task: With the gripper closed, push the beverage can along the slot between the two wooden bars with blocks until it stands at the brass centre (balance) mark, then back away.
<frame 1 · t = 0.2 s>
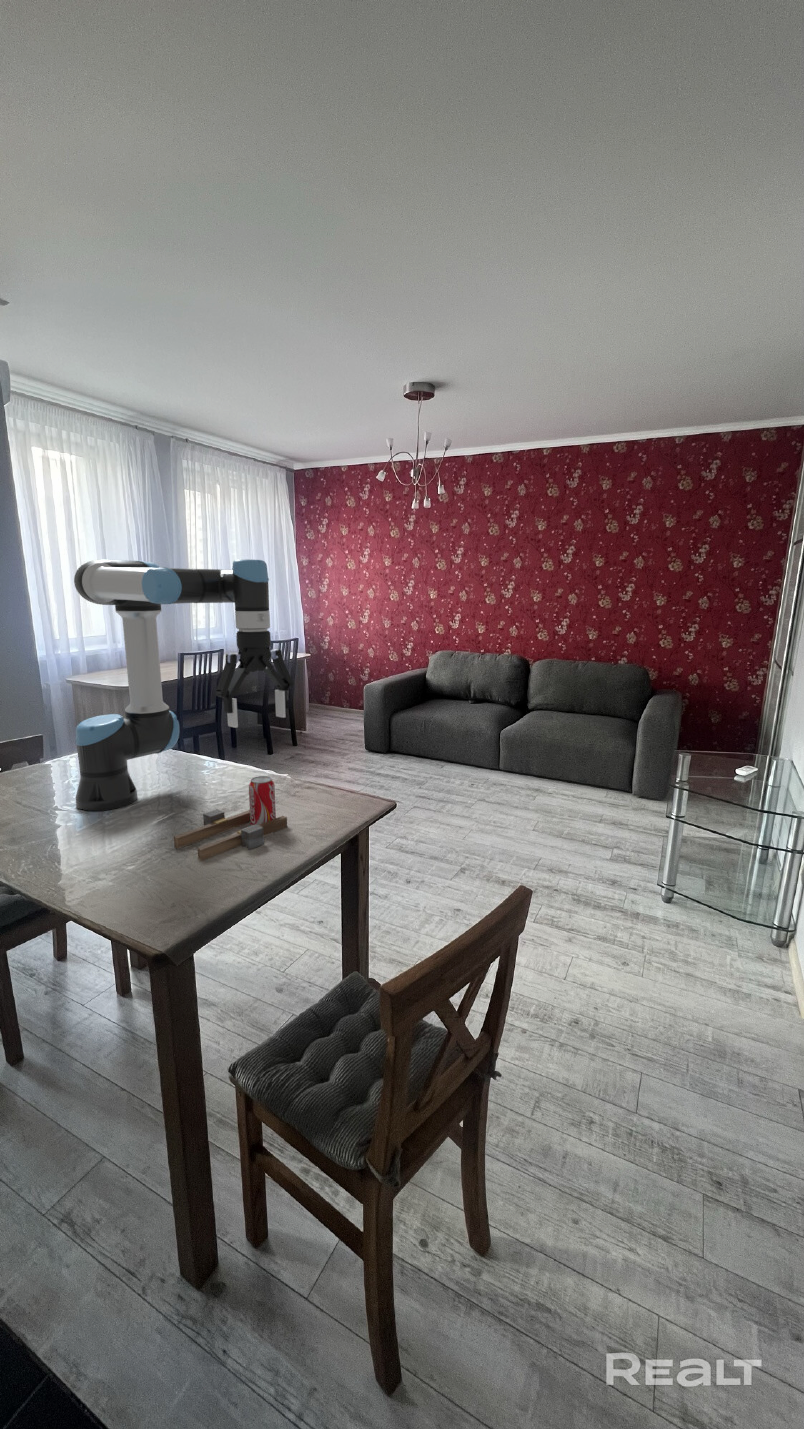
hand: (257, 721, 138), 27 cm above the table, fingers open, 13 cm apart
wooden bars with blocks: (233, 836, 141), on the table
beverage can: (263, 825, 148), on the table
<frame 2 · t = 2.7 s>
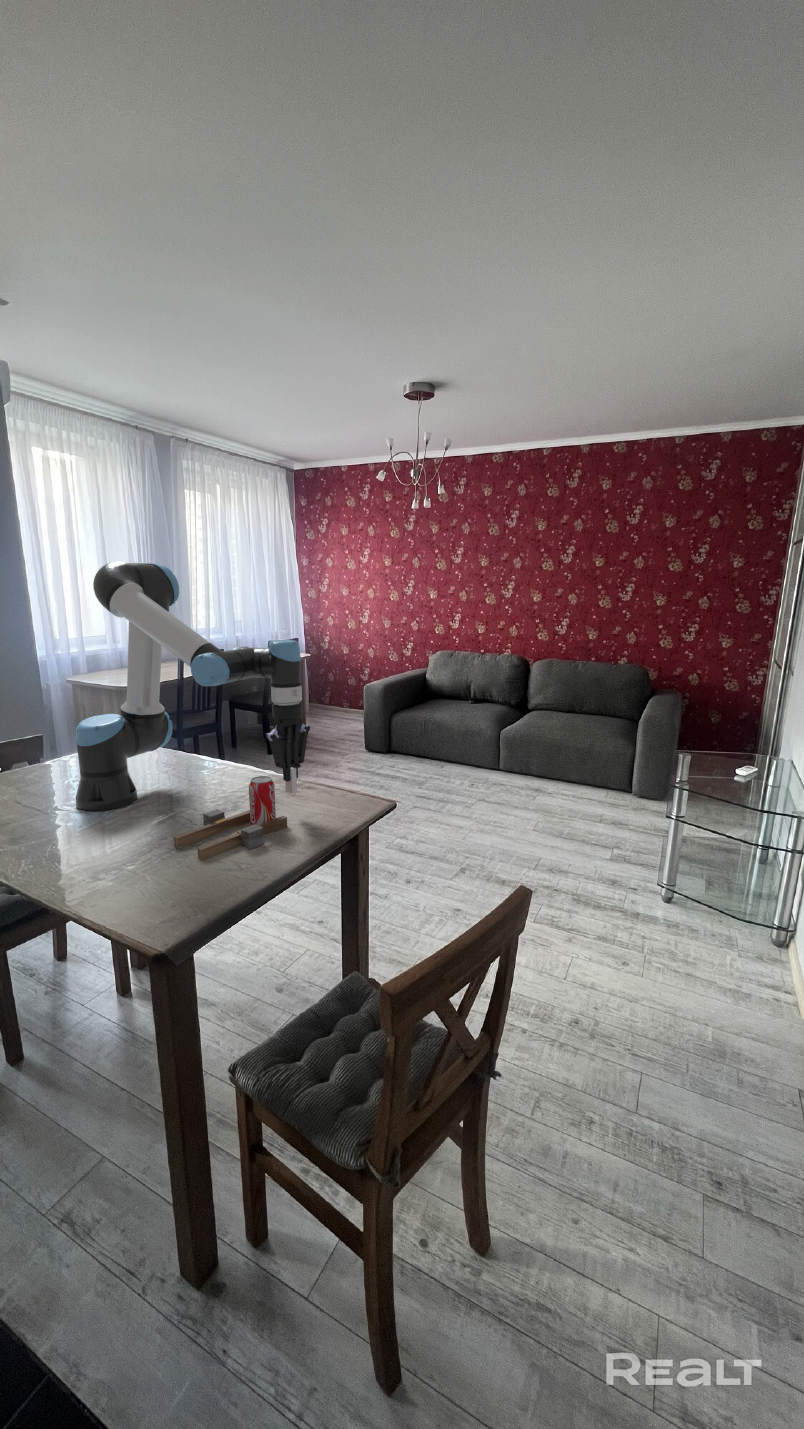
hand: (291, 791, 153), 6 cm above the table, fingers closed
nothing on the table moved.
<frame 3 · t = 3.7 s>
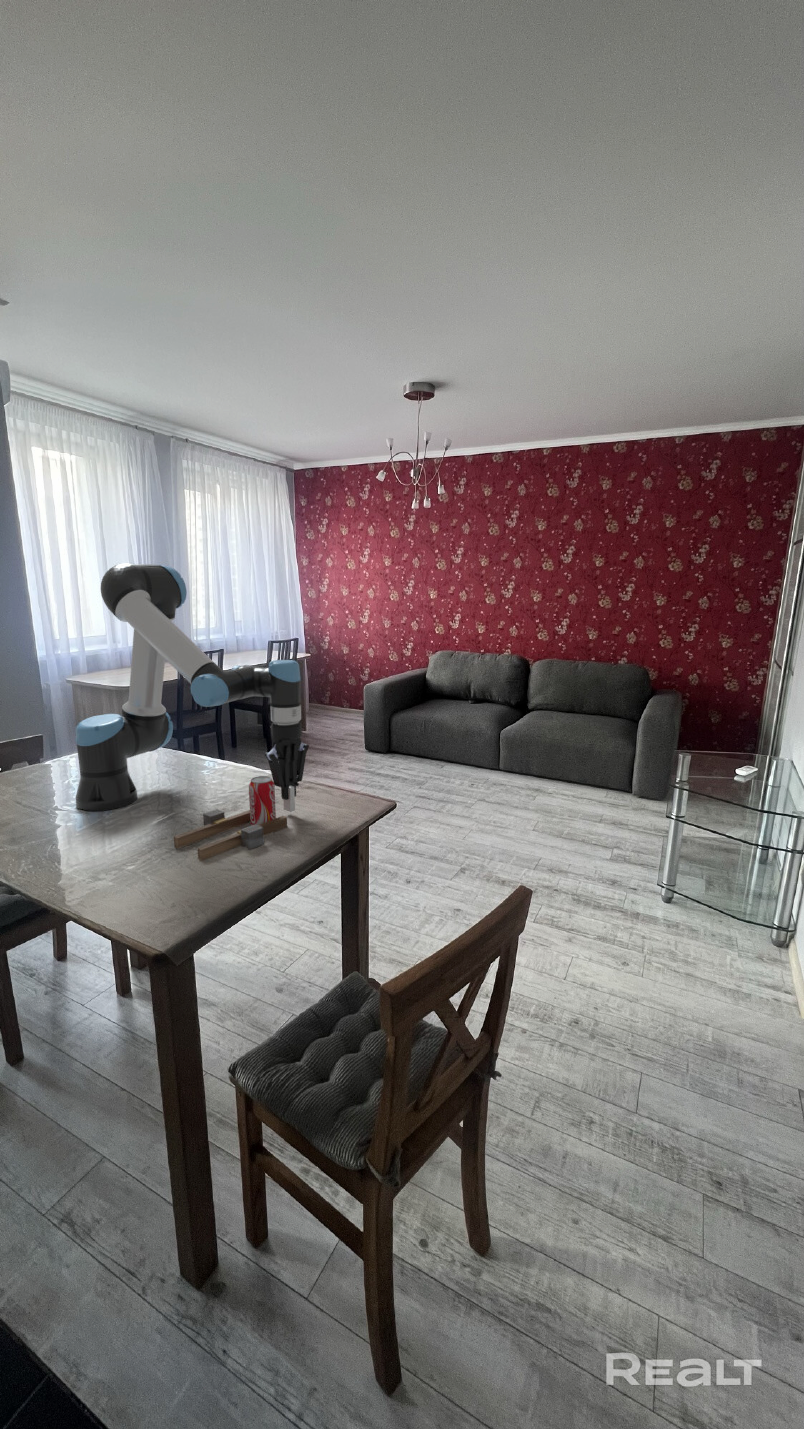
hand: (289, 809, 154), 1 cm above the table, fingers closed
nothing on the table moved.
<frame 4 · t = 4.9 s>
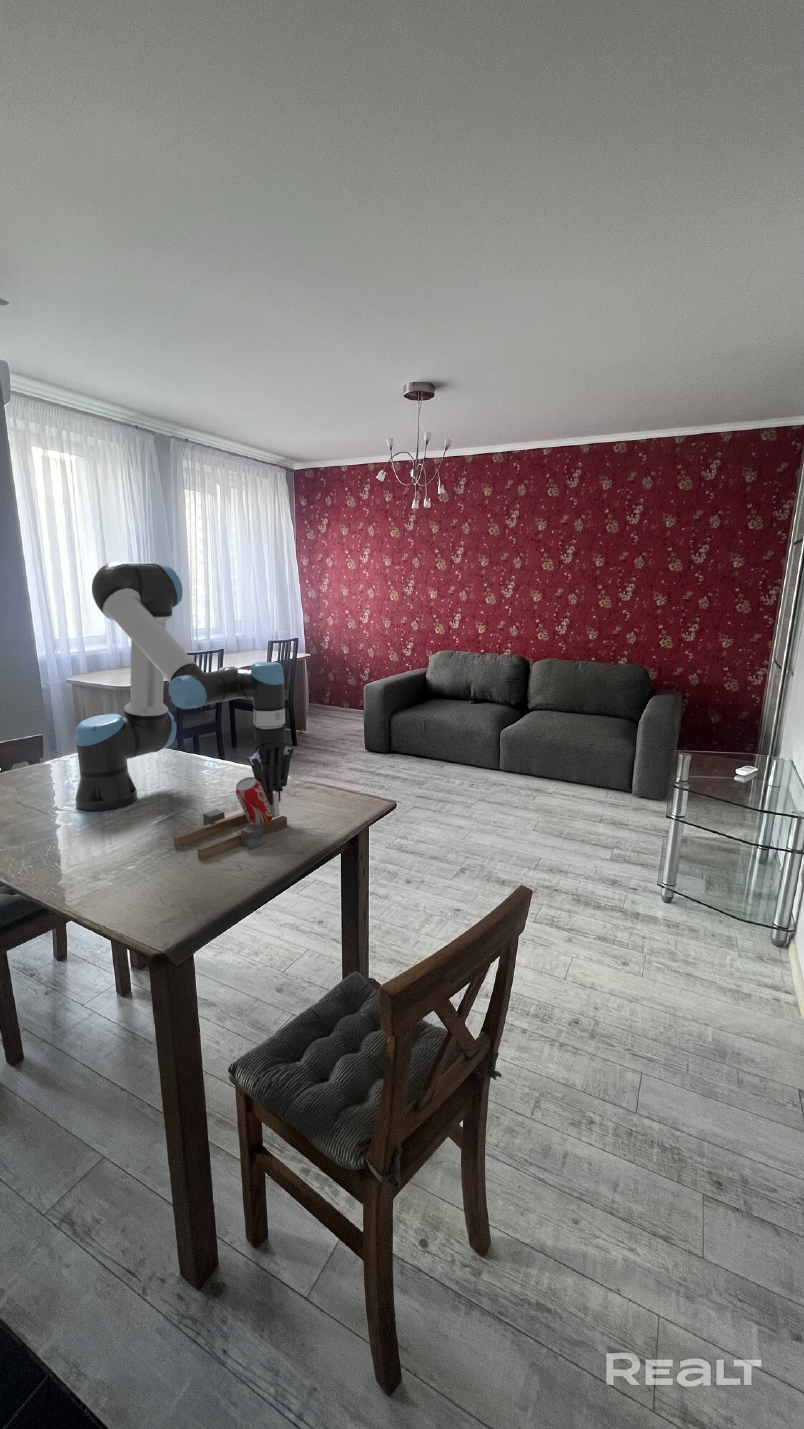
hand: (273, 815, 150), 1 cm above the table, fingers closed
beverage can: (262, 821, 148), point 1 cm above the table, touching gripper
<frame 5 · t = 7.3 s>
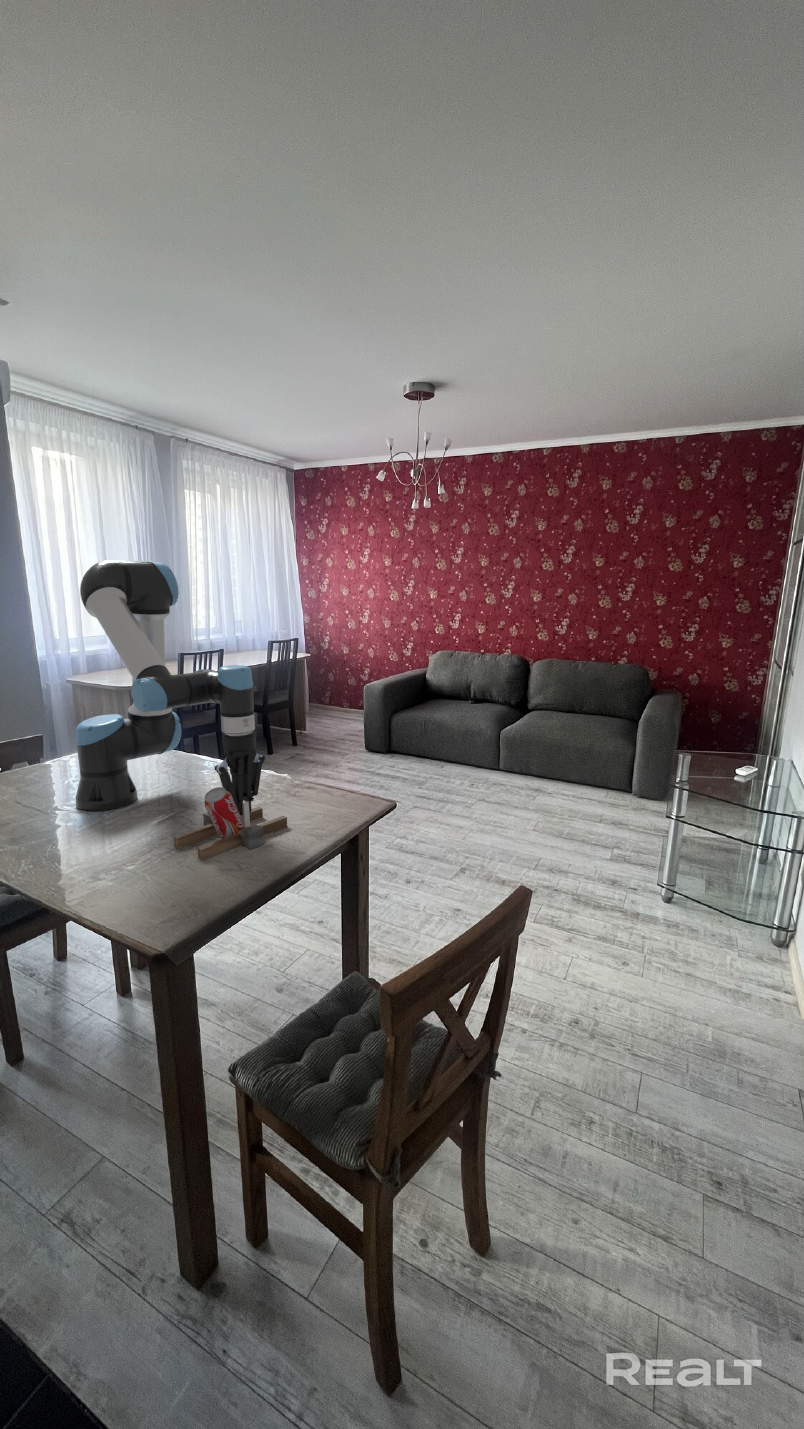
hand: (244, 826, 143), 1 cm above the table, fingers closed
beverage can: (232, 833, 140), point 1 cm above the table, touching gripper, hand
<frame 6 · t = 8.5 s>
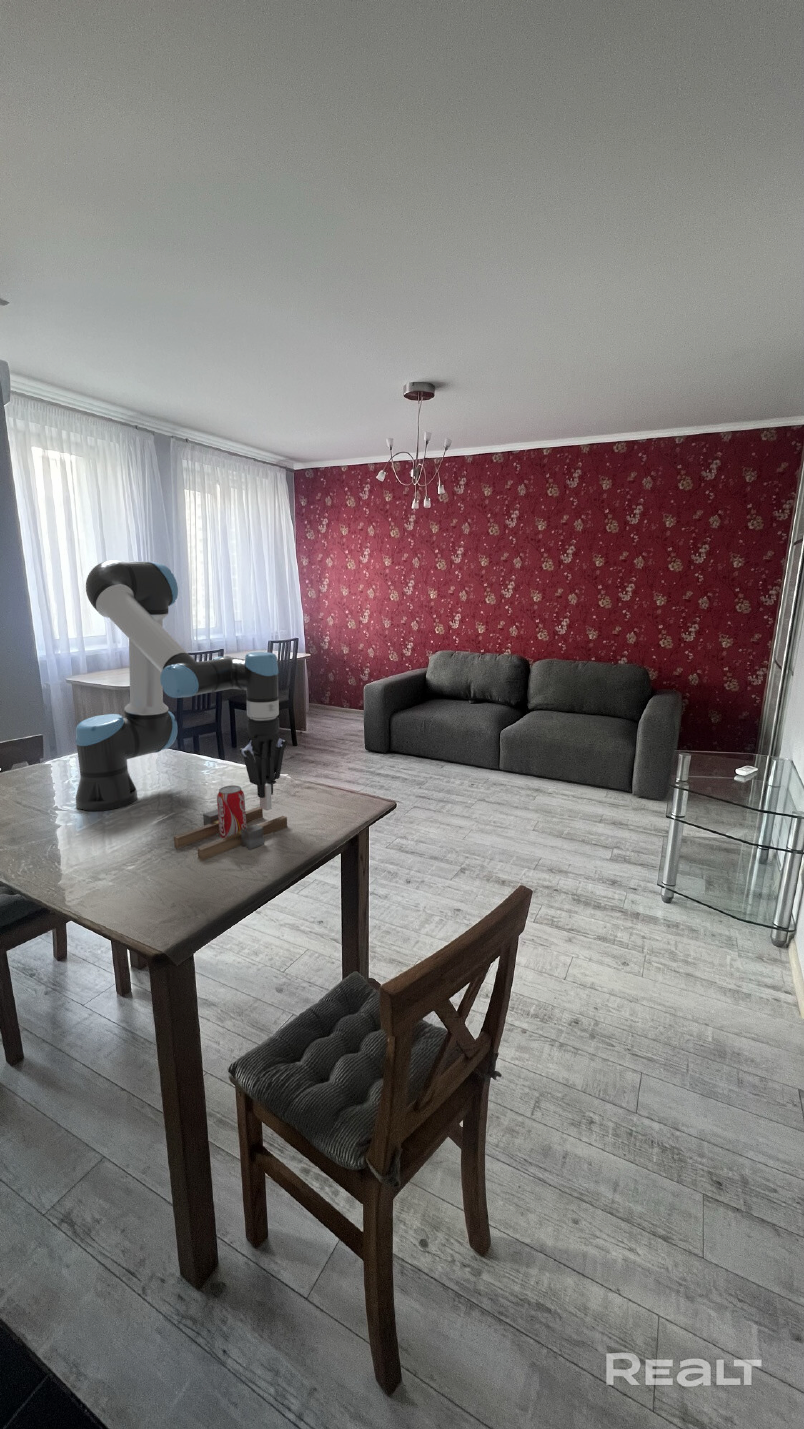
hand: (265, 808, 148), 4 cm above the table, fingers closed
beverage can: (233, 837, 141), on the table
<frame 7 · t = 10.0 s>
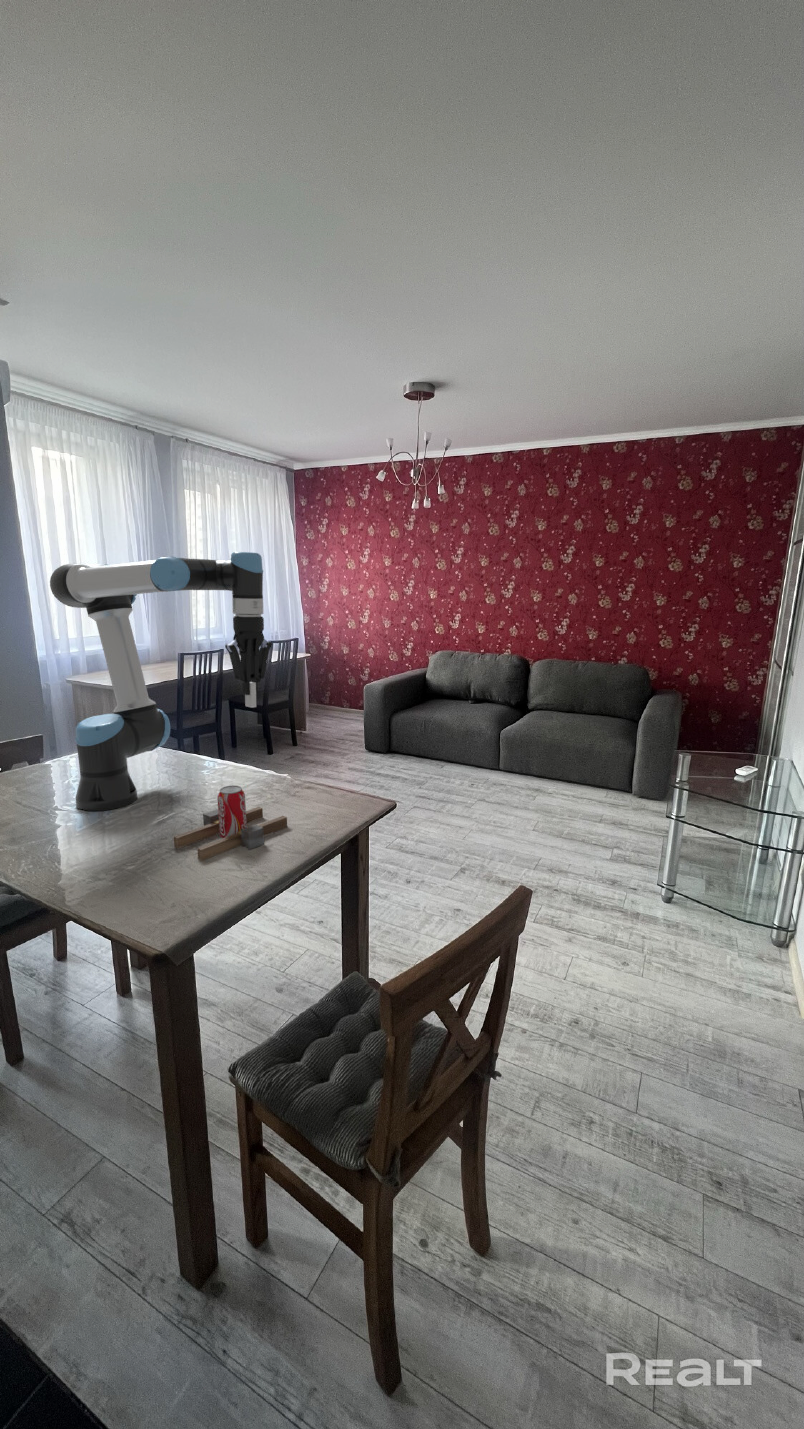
hand: (250, 706, 155), 28 cm above the table, fingers closed
nothing on the table moved.
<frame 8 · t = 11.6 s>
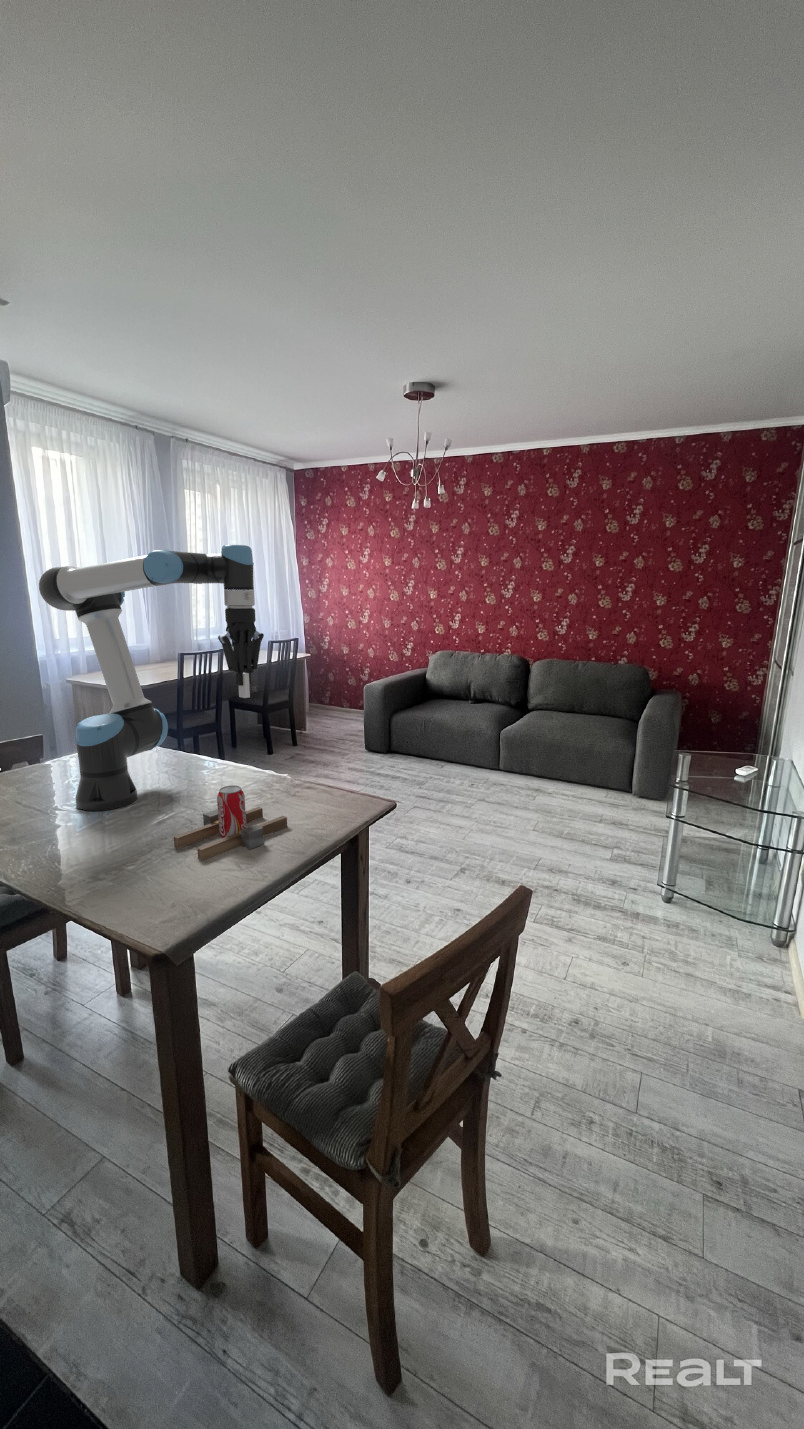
hand: (244, 697, 157), 29 cm above the table, fingers closed
nothing on the table moved.
at the end: beverage can inside the target area (0.5 cm from its centre), on the table; beverage can tilted 1° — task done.
